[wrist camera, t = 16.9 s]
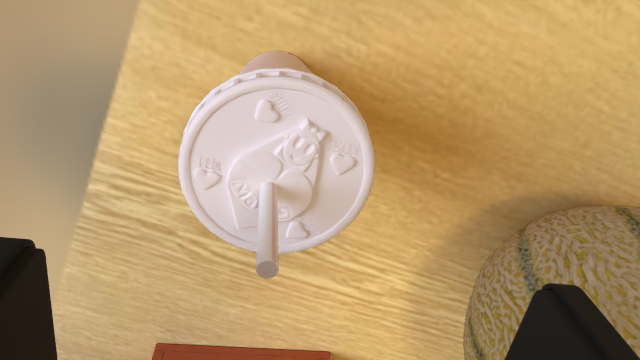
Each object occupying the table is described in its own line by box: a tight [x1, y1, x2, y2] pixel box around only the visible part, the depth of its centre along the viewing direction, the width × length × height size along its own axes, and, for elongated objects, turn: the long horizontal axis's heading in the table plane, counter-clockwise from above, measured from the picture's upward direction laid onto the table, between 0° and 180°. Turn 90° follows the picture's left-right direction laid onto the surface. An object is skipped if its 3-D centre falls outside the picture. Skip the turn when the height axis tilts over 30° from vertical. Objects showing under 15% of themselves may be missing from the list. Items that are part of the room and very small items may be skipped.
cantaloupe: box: [463, 206, 640, 360], centre depth 24 cm, size 15×15×15 cm
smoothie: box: [178, 51, 375, 278], centre depth 18 cm, size 6×6×14 cm
